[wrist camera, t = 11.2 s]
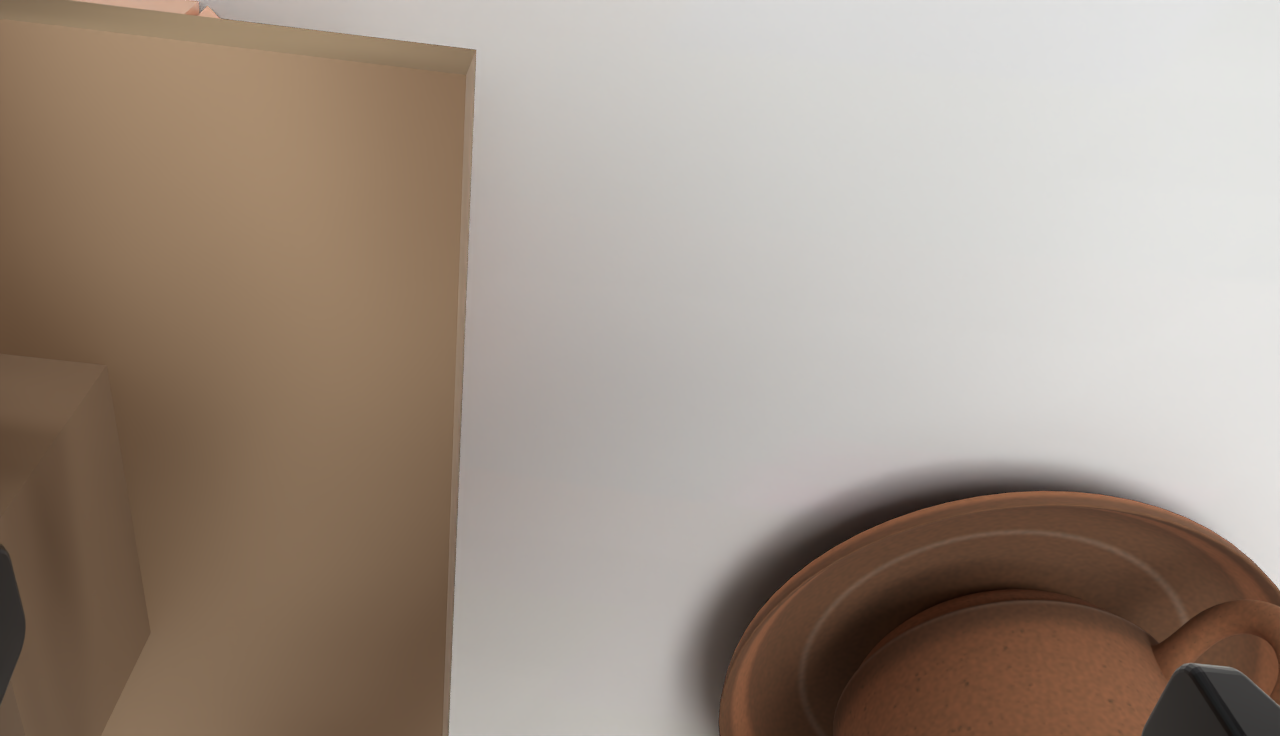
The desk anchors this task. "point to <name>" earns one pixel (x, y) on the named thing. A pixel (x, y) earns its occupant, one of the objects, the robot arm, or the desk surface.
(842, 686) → the cup and saucer
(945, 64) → the desk surface
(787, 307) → the desk surface
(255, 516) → the lid
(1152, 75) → the desk surface
